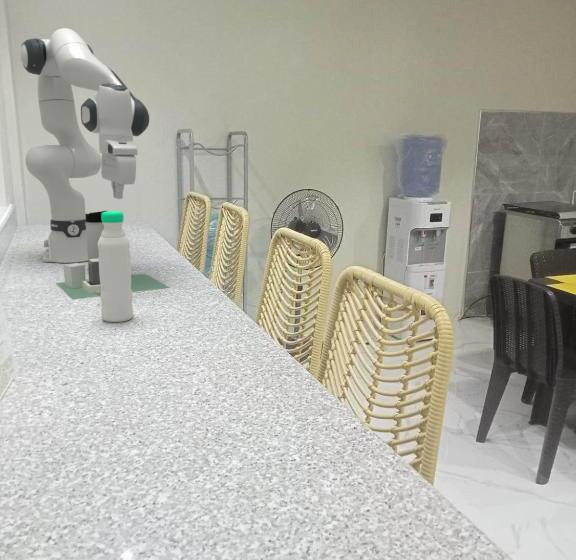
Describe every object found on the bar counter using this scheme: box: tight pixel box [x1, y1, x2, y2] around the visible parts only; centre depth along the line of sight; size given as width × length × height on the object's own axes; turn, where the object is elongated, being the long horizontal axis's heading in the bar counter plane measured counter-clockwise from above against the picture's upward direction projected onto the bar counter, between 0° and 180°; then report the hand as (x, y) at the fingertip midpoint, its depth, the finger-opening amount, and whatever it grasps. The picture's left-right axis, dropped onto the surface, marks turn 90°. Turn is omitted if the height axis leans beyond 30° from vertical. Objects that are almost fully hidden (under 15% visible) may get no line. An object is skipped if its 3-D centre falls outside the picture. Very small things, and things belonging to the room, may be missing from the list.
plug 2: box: [87, 258, 100, 285], centre depth 154 cm, size 5×5×8 cm
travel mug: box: [85, 210, 107, 260], centre depth 175 cm, size 6×7×20 cm
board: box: [55, 273, 171, 300], centre depth 159 cm, size 20×26×3 cm
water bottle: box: [98, 210, 134, 323], centre depth 130 cm, size 7×7×25 cm
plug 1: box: [63, 262, 87, 288], centre depth 157 cm, size 5×4×6 cm
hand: (118, 198), depth 157 cm, fingers closed
